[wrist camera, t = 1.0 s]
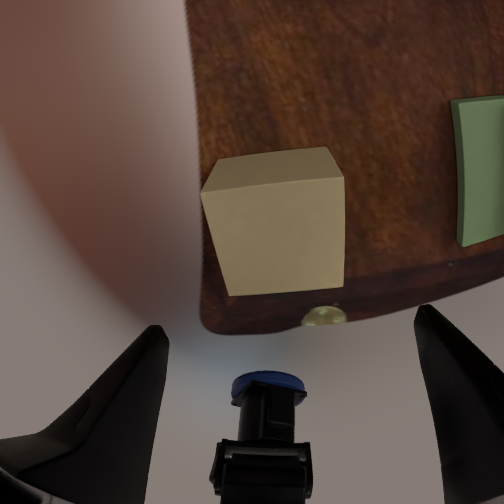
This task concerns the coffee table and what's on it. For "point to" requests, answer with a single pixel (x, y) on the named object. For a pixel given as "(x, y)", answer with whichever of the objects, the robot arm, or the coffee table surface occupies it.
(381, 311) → the coffee table surface
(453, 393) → the robot arm
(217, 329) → the coffee table surface
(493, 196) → the pad
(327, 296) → the coffee table surface
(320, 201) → the foam block
